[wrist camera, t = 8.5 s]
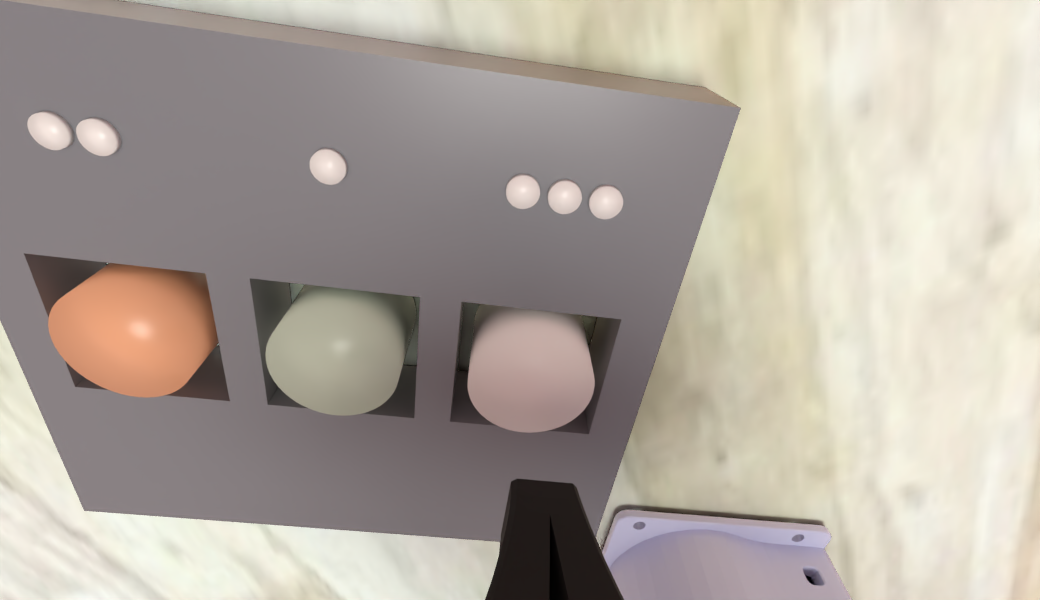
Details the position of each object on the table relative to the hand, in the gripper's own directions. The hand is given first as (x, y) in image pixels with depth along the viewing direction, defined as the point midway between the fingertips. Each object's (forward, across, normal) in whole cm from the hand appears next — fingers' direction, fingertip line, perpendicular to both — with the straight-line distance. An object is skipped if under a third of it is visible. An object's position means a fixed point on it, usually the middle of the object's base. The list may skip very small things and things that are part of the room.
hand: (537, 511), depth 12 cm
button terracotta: (+7, +11, 0) cm, 13 cm away
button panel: (+7, +6, 0) cm, 9 cm away
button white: (+7, 0, 0) cm, 7 cm away
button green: (+7, +6, 0) cm, 9 cm away
